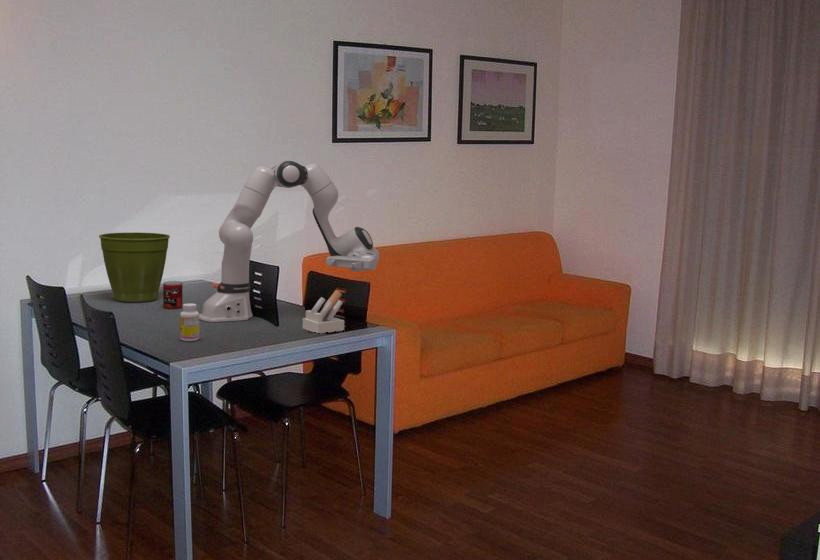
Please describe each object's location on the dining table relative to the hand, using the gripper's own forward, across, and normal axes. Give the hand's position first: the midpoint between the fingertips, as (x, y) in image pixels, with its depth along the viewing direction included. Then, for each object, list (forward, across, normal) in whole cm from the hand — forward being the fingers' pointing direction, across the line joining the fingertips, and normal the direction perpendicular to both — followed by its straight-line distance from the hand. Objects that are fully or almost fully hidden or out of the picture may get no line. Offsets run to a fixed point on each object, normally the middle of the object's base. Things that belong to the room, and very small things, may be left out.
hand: (342, 264), depth 338 cm
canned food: (+6, -77, +24) cm, 81 cm away
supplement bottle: (+52, -36, +24) cm, 68 cm away
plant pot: (-2, -103, +24) cm, 105 cm away
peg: (+12, -3, +19) cm, 23 cm away
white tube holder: (+11, -2, +24) cm, 27 cm away
